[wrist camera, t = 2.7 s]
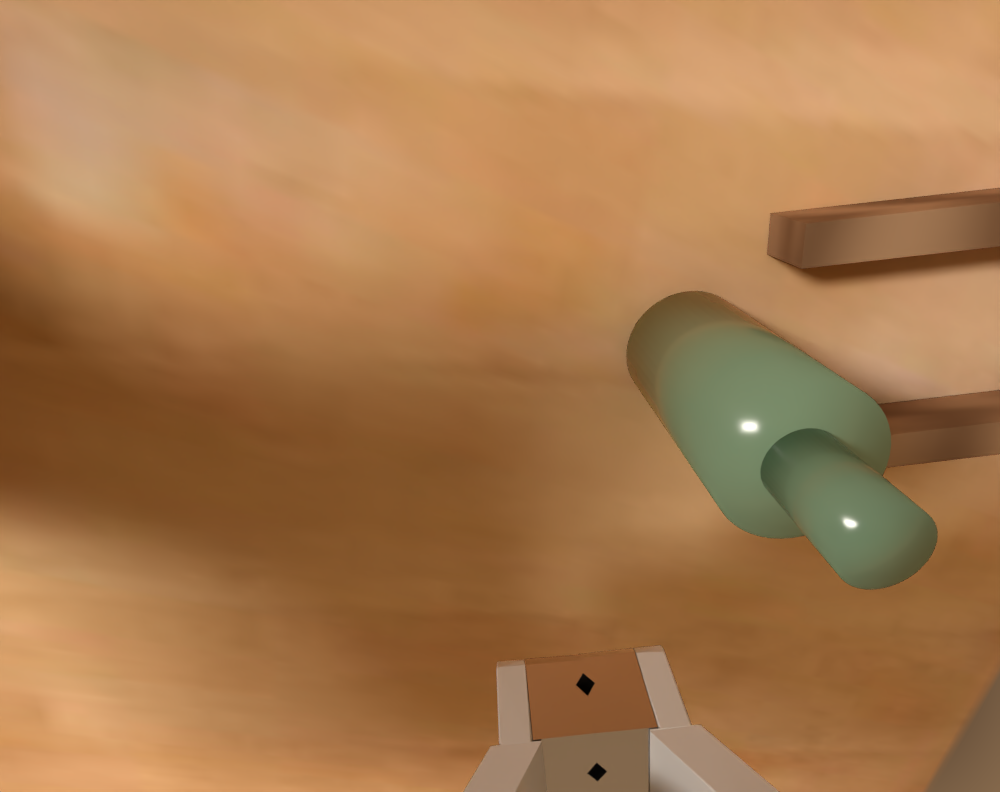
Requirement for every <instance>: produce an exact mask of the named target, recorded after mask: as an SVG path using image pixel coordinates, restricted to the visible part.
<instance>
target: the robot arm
mask: <svg viewBox="0 0 1000 792" xmlns="http://www.w3.org/2000/svg"><path fill="white" fill-rule="evenodd" d="M525 662H526V666H525ZM526 674H527V675H526ZM496 675H497V702H498V729H499V745H494V746H490V748H489V750H488V751H487V753H486V755H485V756H484V758H483V760H482V761H481V763H480V765H479V766H478V768H477V770H476V771H475V773H474V775H473V776H472V778H471V780H470V781H469V783H468V785H467V786H466V788H465V790H464V791H463V792H779V791H778V790H777V789H776V788H775V787H773V786H772V785H771V784H770V783H769V782H768V781H766V780H765V779H764V778H763V777H762V776H761V775H759V774H758V773H757V772H756V771H755V770H753V769H752V768H751V767H750V766H749V765H748V764H746V763H745V762H744V761H743V760H742V759H741V758H739V757H738V756H737V755H736V754H735V753H734V752H732V751H731V750H730V749H729V748H728V747H726V746H725V745H724V744H723V743H722V742H721V741H719V740H718V739H717V738H716V737H715V736H714V735H712V734H711V733H710V732H709V731H708V730H706V729H705V728H704V727H703V726H702V725H701V724H700V725H692V724H691V721H690V718H689V716H688V713H687V710H686V708H685V705H684V702H683V699H682V697H681V694H680V691H679V689H678V686H677V683H676V680H675V678H674V675H673V672H672V670H671V667H670V664H669V661H668V659H667V656H666V653H665V651H664V649H663V648H662V647H661V645H656V646H647V647H638V648H633V649H632V648H626V649H618V650H609V651H601V652H592V653H583V654H578V655H570V656H556V657H543V658H530V659H523V660H510V661H498V662H497V668H496Z"/></svg>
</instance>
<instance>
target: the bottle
mask: <svg viewBox="0 0 1000 792" xmlns="http://www.w3.org/2000/svg"><path fill="white" fill-rule="evenodd" d="M627 366H628V370H629V373H630V375H631V378H632V379H633V381H634V383H635V384H636V386H637V387H638V389H639V390H640V392H641V393H642V395H643V396H644V398H645V399H646V401H647V402H648V403H649V405H650V406H651V408H652V409H653V411H654V412H655V414H656V415H657V417H658V418H659V420H660V421H661V423H662V424H663V426H664V427H665V429H666V430H667V431H668V433H669V434H670V436H671V437H672V439H673V440H674V442H675V443H676V445H677V446H678V448H679V449H680V451H681V452H682V454H683V455H684V457H685V458H686V459H687V461H688V462H689V464H690V465H691V467H692V468H693V470H694V471H695V473H696V474H697V476H698V477H699V479H700V480H701V482H702V483H703V485H704V486H705V487H706V489H707V490H708V492H709V493H710V495H711V496H712V498H713V499H714V501H715V502H716V504H717V505H718V507H719V508H720V510H721V511H722V512H723V514H724V515H725V516H726V517H727V519H729V520H730V521H731V522H732V523H733V524H734V525H736V526H737V527H739V528H740V529H742V530H744V531H746V532H748V533H751V534H754V535H757V536H761V537H767V538H780V539H782V538H794V537H800V536H806V537H807V538H808V540H809V541H810V542H811V543H812V544H813V545H814V547H815V548H816V549H817V550H818V551H819V553H820V554H821V555H822V556H823V557H824V559H825V560H826V561H827V562H828V563H829V564H830V566H831V567H832V568H833V569H834V570H835V572H836V573H837V574H838V575H839V576H840V578H841V579H842V580H843V581H845V582H846V583H847V584H849V585H851V586H853V587H856V588H860V589H881V588H886V587H889V586H892V585H895V584H898V583H900V582H902V581H904V580H906V579H907V578H909V577H910V576H912V575H913V574H915V573H916V572H917V571H918V570H919V569H921V567H922V566H923V565H924V564H925V563H926V562H927V561H928V559H929V558H930V556H931V555H932V553H933V551H934V549H935V546H936V543H937V527H936V525H935V522H934V521H933V519H932V518H931V517H930V516H929V515H928V514H927V513H926V512H925V511H923V510H922V509H921V508H920V507H919V506H917V505H916V504H915V503H914V502H913V501H911V500H910V499H909V498H908V497H907V496H905V495H904V494H903V493H902V492H901V491H899V490H898V489H897V488H896V487H895V486H893V485H892V484H891V483H890V482H889V481H887V480H886V479H885V478H884V477H883V474H884V471H885V469H886V466H887V464H888V460H889V456H890V450H891V432H890V427H889V423H888V421H887V418H886V416H885V414H884V412H883V411H882V409H881V407H880V406H879V405H878V404H877V403H876V402H875V401H874V400H873V399H872V398H871V397H870V396H868V395H867V394H866V393H864V392H863V391H861V390H860V389H858V388H857V387H855V386H854V385H852V384H851V383H849V382H848V381H846V380H845V379H843V378H842V377H840V376H839V375H837V374H836V373H834V372H833V371H831V370H830V369H828V368H827V367H825V366H824V365H822V364H821V363H819V362H818V361H816V360H815V359H813V358H812V357H810V356H809V355H807V354H806V353H804V352H802V351H801V350H799V349H798V348H796V347H795V346H793V345H792V344H790V343H789V342H787V341H786V340H784V339H783V338H781V337H780V336H778V335H777V334H775V333H774V332H772V331H771V330H769V329H768V328H766V327H765V326H763V325H762V324H760V323H759V322H757V321H756V320H754V319H753V318H751V317H750V316H748V315H747V314H745V313H744V312H742V311H741V310H739V309H738V308H736V307H735V306H733V305H732V304H730V303H729V302H727V301H726V300H724V299H722V298H721V297H719V296H717V295H714V294H711V293H707V292H702V291H687V292H681V293H677V294H674V295H671V296H669V297H666V298H664V299H662V300H661V301H659V302H657V303H656V304H655V305H653V306H652V307H651V308H649V309H648V310H647V311H646V312H645V313H644V314H643V316H642V317H641V318H640V319H639V321H638V322H637V324H636V325H635V327H634V329H633V331H632V333H631V335H630V338H629V341H628V346H627Z"/></svg>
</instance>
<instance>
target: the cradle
mask: <svg viewBox="0 0 1000 792" xmlns="http://www.w3.org/2000/svg"><path fill="white" fill-rule="evenodd" d="M999 246H1000V188H995V189H986V190H977V191H968V192H959V193H950V194H941V195H932V196H923V197H914V198H905V199H896V200H887V201H878V202H868V203H859V204H850V205H841V206H832V207H823V208H814V209H805V210H796V211H787V212H778V213H771V215H770V227H769V239H768V250H767V254H768V255H770V256H772V257H775V258H777V259H780V260H782V261H784V262H787V263H789V264H791V265H794V266H796V267H798V268H801V269H803V268H812V267H821V266H830V265H839V264H848V263H857V262H865V261H874V260H883V259H892V258H901V257H910V256H919V255H928V254H936V253H945V252H954V251H963V250H972V249H981V248H990V247H999ZM878 405H879V406H880V407H881V409H882V411H883V412H884V414H885V416H886V418H887V421H888V423H889V427H890V432H891V450H890V456H889V460H888V464H887V466H886V468H887V467H895V466H904V465H912V464H920V463H929V462H937V461H946V460H954V459H963V458H971V457H980V456H988V455H996V454H1000V390H997V391H989V392H980V393H972V394H963V395H955V396H946V397H937V398H929V399H920V400H912V401H903V402H895V403H886V404H878Z"/></svg>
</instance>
